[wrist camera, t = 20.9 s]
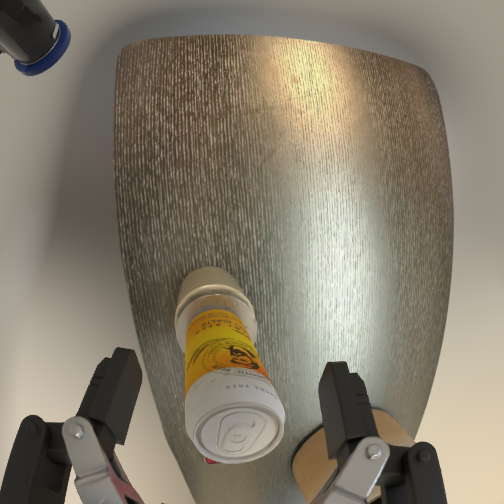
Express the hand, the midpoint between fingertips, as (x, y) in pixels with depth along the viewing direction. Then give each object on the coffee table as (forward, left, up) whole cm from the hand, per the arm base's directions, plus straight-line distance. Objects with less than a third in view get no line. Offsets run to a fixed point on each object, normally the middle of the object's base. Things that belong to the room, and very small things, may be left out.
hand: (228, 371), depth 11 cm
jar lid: (+2, -6, -17) cm, 18 cm away
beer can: (+1, -6, -17) cm, 18 cm away
